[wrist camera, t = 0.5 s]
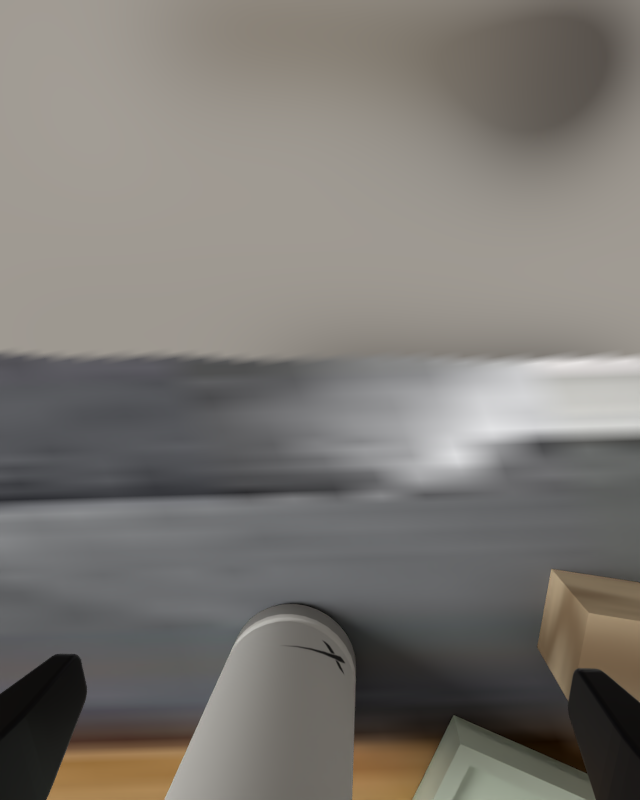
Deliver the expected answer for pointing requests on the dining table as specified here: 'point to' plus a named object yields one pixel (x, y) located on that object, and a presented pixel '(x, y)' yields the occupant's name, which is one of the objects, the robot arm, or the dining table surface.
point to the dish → (496, 770)
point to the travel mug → (277, 715)
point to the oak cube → (592, 628)
